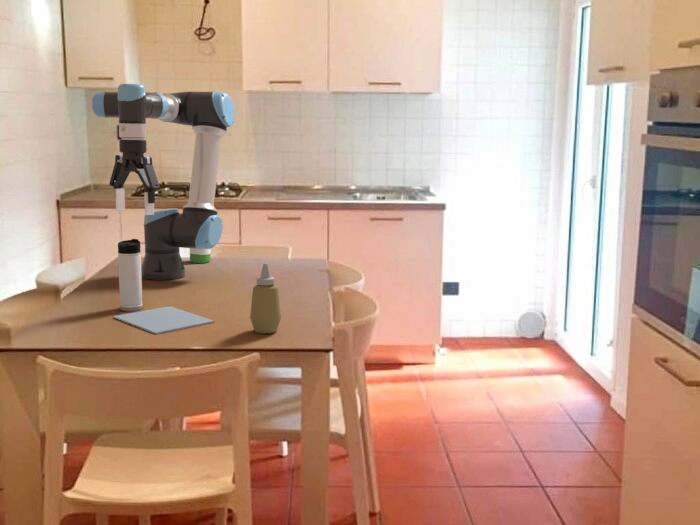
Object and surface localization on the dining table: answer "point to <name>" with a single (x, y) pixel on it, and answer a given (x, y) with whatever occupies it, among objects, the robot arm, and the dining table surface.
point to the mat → (163, 319)
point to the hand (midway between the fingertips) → (134, 212)
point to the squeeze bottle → (265, 304)
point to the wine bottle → (200, 255)
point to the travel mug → (130, 275)
